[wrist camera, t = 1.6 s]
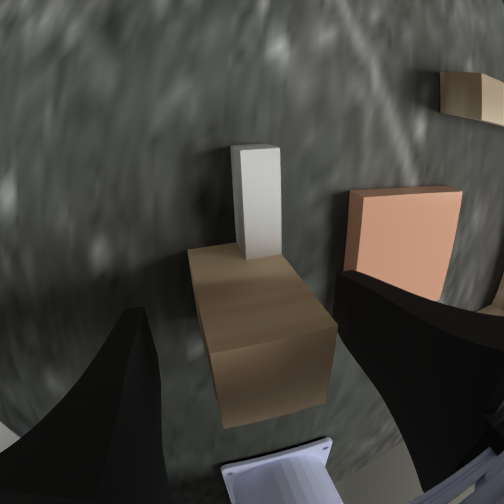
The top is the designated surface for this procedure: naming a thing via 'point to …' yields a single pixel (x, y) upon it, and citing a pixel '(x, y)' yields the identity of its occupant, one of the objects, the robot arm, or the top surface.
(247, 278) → the wood block with post
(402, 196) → the terracotta tile
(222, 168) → the top surface
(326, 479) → the robot arm
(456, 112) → the tile rest
